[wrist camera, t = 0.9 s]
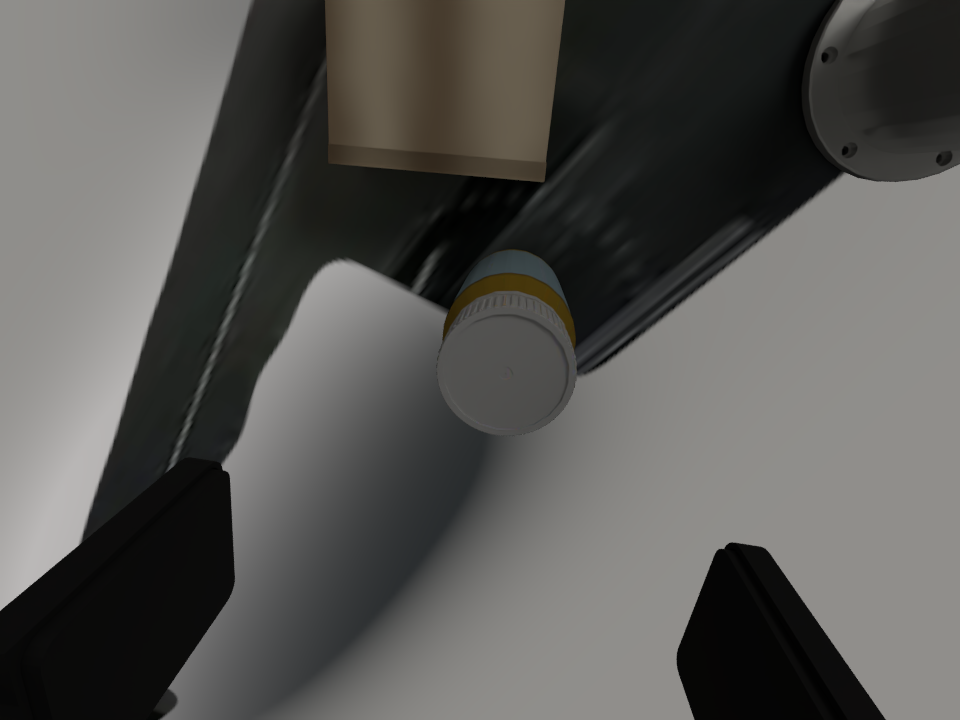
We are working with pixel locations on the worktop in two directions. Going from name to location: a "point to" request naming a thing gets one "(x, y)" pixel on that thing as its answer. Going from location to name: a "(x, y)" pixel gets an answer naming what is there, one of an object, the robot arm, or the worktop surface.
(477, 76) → the chopping block
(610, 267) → the worktop surface
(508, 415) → the bottle
